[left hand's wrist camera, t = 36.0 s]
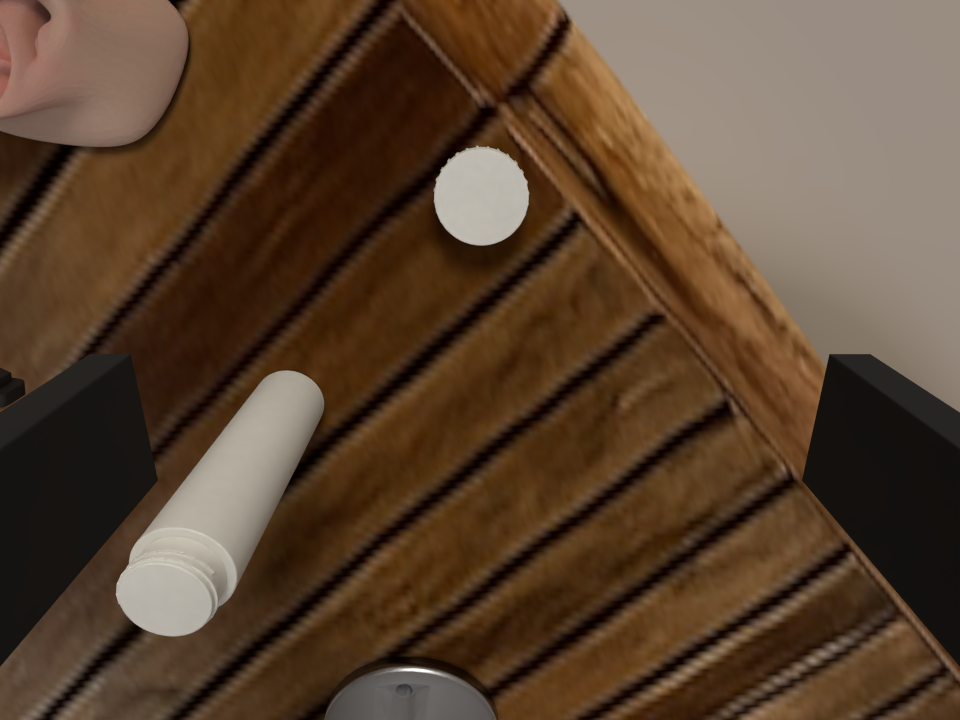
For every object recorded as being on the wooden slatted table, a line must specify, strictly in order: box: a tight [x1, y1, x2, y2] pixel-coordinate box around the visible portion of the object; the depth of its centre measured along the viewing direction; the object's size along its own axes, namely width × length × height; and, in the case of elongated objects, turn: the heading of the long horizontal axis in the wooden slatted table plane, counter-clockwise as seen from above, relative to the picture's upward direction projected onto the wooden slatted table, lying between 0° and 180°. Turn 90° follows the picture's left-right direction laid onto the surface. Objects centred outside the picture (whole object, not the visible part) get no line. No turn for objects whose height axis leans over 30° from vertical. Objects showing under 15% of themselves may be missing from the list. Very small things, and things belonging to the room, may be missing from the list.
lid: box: [434, 146, 529, 246], centre depth 40 cm, size 6×6×2 cm
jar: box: [116, 371, 324, 636], centre depth 37 cm, size 5×5×20 cm
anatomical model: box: [0, 0, 189, 147], centre depth 35 cm, size 13×4×12 cm
